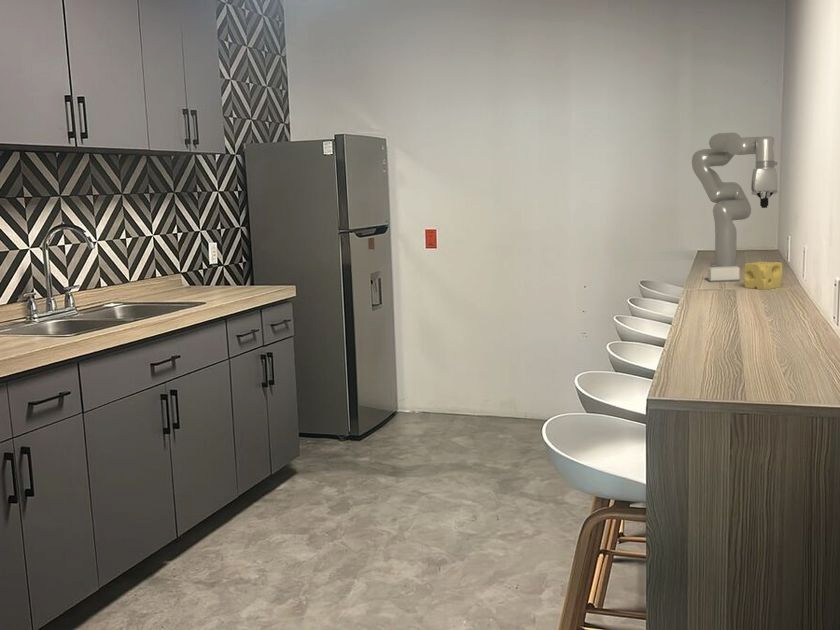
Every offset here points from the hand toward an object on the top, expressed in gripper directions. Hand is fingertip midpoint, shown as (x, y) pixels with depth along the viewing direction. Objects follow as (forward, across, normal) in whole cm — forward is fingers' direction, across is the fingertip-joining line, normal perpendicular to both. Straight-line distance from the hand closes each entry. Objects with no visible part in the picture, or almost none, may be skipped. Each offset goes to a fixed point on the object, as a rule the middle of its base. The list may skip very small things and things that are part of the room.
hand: (764, 207), depth 372 cm
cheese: (+29, +12, +41) cm, 52 cm away
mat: (+29, +22, +16) cm, 40 cm away
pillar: (+26, +15, +16) cm, 34 cm away
